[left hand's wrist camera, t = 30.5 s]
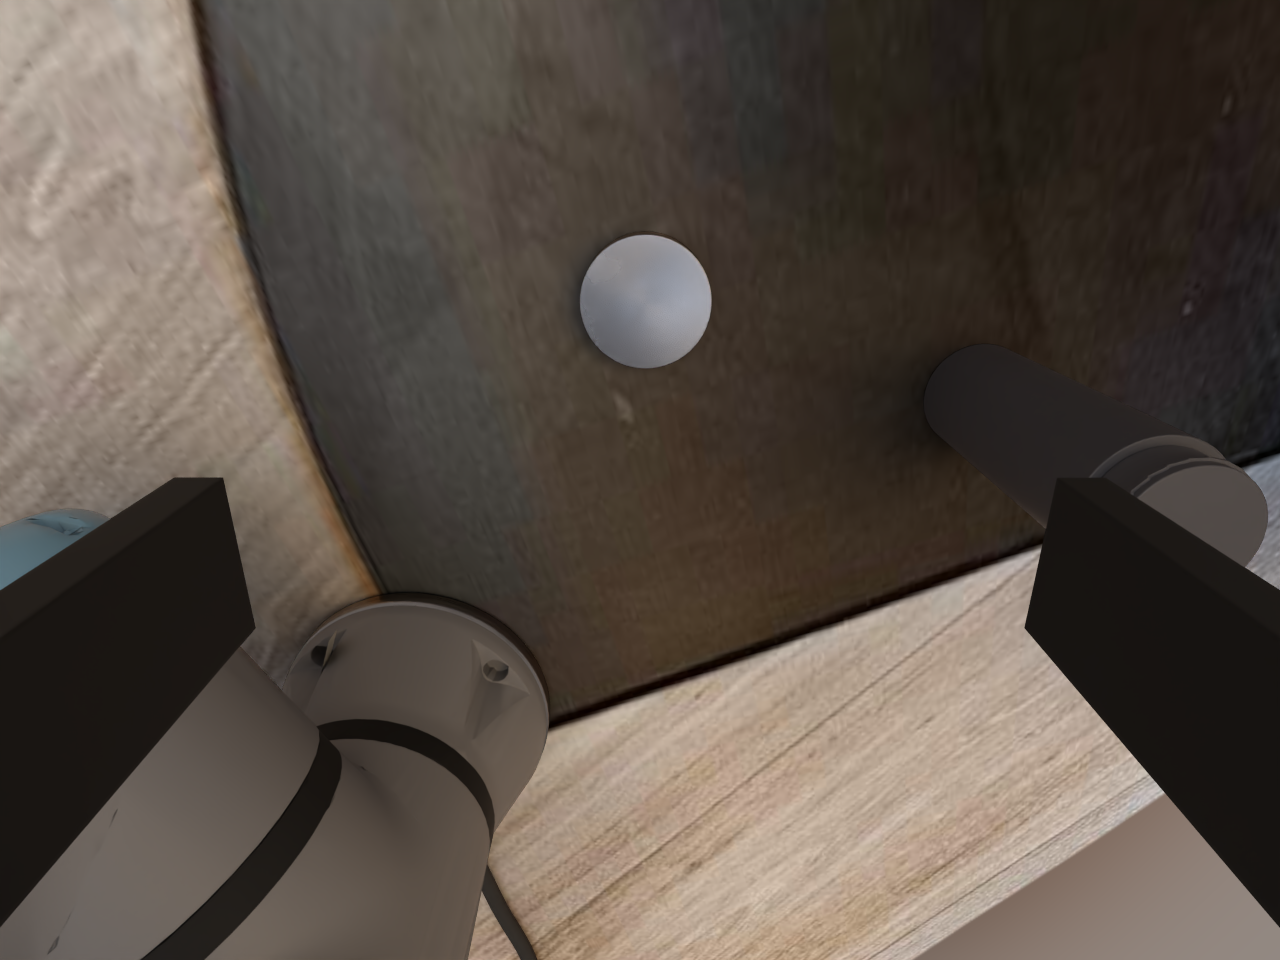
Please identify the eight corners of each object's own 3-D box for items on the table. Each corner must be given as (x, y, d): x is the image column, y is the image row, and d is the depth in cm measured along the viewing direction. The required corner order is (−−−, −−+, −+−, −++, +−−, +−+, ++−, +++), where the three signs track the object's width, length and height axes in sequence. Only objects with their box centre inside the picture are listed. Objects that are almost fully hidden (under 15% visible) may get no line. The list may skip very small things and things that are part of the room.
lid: (614, 378, 39) (613, 388, 37) (561, 263, 36) (557, 268, 34) (726, 328, 38) (731, 337, 36) (679, 209, 36) (681, 211, 34)
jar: (1021, 329, 38) (1277, 431, 22) (1036, 427, 39) (1282, 582, 24) (914, 363, 38) (1093, 485, 23) (933, 458, 40) (1112, 628, 25)
